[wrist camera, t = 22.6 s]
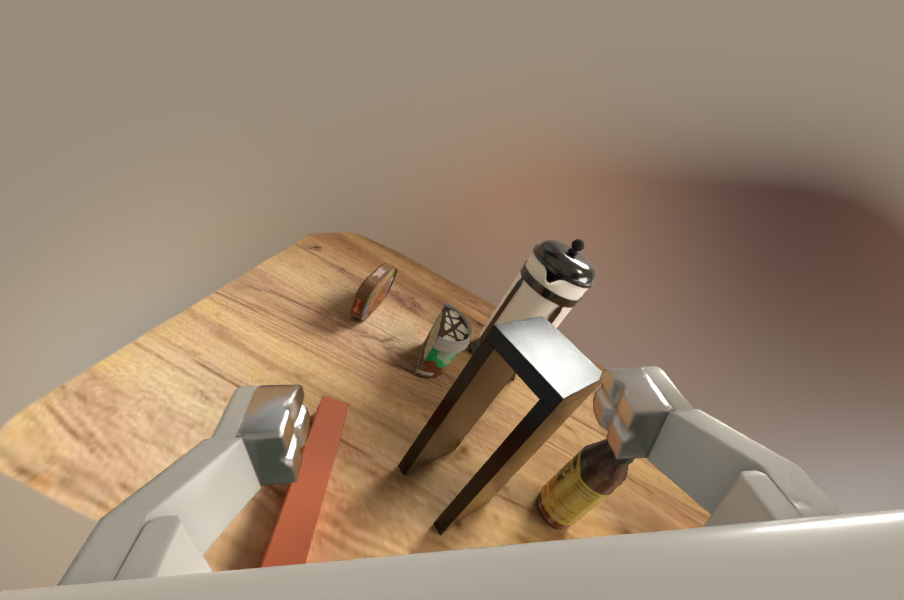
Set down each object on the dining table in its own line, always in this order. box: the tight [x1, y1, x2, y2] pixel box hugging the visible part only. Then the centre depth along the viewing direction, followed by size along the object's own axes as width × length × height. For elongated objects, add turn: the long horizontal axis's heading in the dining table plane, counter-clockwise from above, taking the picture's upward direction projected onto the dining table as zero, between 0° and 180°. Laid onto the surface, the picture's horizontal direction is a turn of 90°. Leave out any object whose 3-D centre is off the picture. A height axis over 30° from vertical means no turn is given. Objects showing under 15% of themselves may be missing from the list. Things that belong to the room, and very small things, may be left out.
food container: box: [415, 302, 472, 379], centre depth 71 cm, size 12×6×10 cm, turn 174°
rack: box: [398, 316, 602, 535], centre depth 48 cm, size 10×10×26 cm
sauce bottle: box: [537, 439, 635, 529], centre depth 55 cm, size 7×6×20 cm
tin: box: [350, 263, 397, 321], centre depth 76 cm, size 15×3×8 cm, turn 165°
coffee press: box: [469, 239, 595, 381], centre depth 79 cm, size 17×16×30 cm
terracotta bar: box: [259, 396, 349, 568], centre depth 43 cm, size 24×4×4 cm, turn 0°
